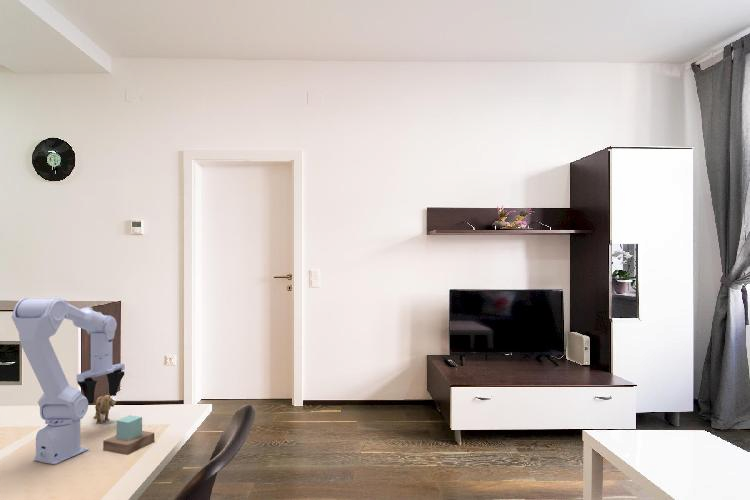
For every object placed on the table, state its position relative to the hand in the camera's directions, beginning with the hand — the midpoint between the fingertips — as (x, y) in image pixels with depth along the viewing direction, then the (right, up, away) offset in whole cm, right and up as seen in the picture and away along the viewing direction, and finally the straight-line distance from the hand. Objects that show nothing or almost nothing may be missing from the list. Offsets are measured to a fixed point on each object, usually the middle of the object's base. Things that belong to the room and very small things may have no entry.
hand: (101, 399), depth 138 cm
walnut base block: (+14, -10, -11) cm, 20 cm away
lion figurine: (-6, -10, +11) cm, 16 cm away
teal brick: (+14, -7, -11) cm, 19 cm away
